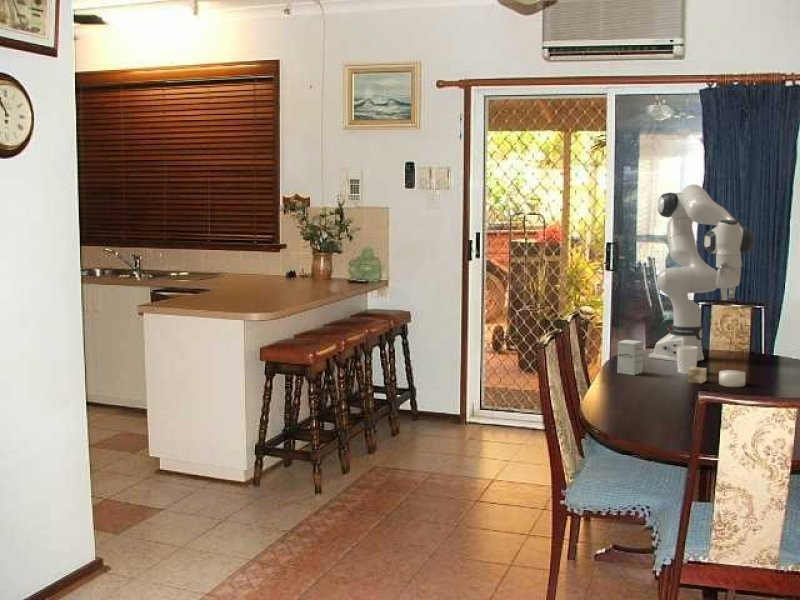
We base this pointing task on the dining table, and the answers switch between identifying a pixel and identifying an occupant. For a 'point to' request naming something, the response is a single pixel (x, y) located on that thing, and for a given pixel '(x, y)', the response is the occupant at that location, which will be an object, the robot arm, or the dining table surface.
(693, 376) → the beech block
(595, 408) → the dining table surface
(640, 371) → the supplement box
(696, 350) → the white cup
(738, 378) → the white rounded lump
